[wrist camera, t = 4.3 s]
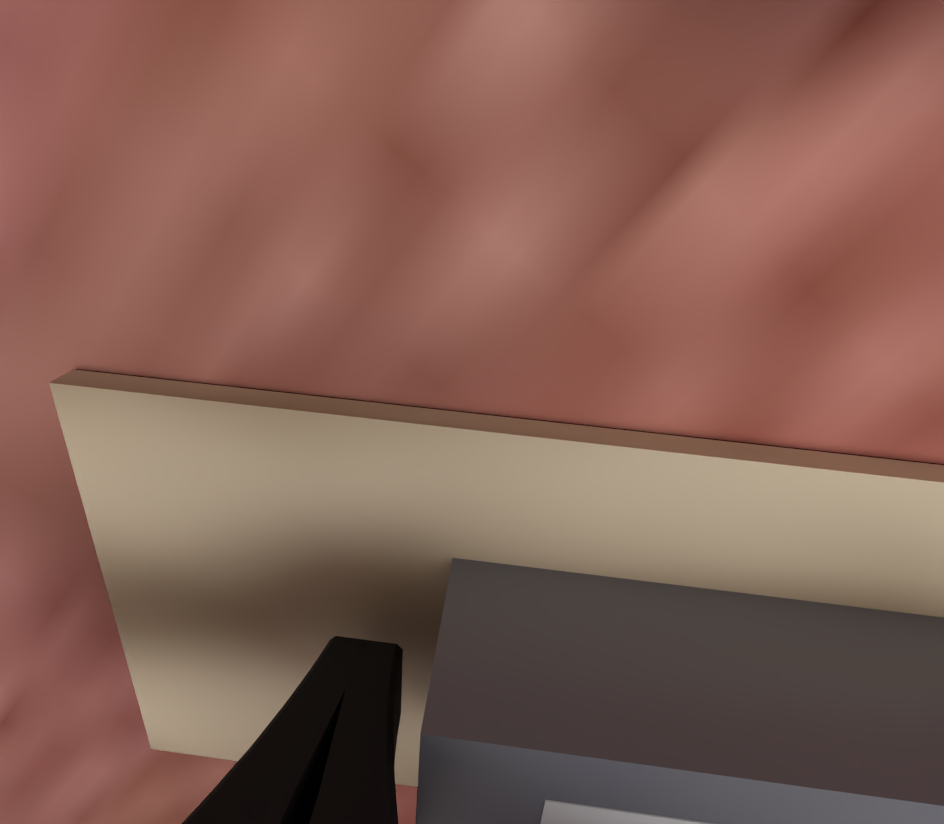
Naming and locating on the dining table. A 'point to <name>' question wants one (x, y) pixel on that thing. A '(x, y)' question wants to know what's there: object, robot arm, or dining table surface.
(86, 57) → the dining table surface
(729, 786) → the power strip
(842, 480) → the mount
